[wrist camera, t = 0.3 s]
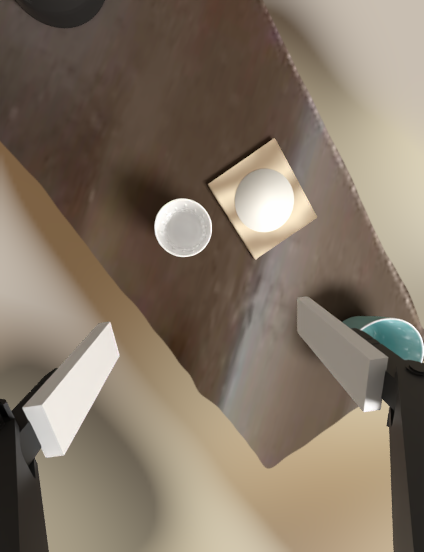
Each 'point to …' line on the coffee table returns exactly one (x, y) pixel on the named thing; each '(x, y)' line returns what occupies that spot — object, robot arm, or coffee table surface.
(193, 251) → the white cup
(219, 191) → the coaster board
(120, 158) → the coffee table surface
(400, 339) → the bowl
